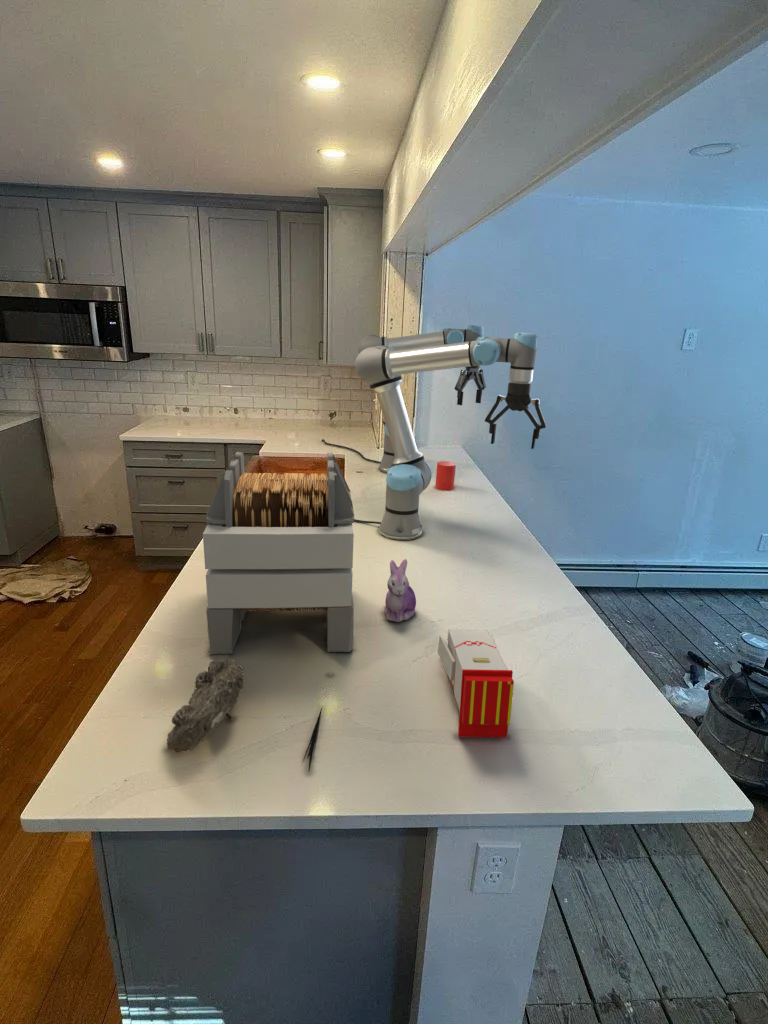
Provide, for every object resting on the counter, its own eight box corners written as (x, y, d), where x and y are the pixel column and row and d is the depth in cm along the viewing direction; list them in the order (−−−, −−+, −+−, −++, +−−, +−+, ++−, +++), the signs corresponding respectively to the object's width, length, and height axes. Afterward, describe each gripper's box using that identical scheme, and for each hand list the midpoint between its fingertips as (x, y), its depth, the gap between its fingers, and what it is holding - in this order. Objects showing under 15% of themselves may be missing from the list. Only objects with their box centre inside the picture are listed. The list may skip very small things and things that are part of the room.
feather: (331, 679, 122) (336, 673, 122) (307, 777, 96) (313, 769, 95) (324, 675, 122) (329, 669, 121) (298, 772, 95) (304, 764, 95)
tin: (433, 485, 257) (434, 461, 254) (450, 484, 259) (452, 461, 255) (438, 490, 250) (440, 466, 246) (456, 490, 251) (458, 465, 248)
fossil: (192, 660, 117) (244, 628, 112) (224, 691, 120) (276, 661, 115) (142, 746, 98) (202, 712, 93) (182, 779, 101) (242, 748, 96)
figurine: (392, 627, 141) (395, 572, 136) (374, 608, 149) (376, 556, 144) (425, 619, 145) (429, 566, 140) (405, 601, 154) (408, 550, 149)
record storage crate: (229, 585, 158) (221, 442, 144) (346, 584, 161) (350, 444, 148) (206, 656, 126) (193, 481, 112) (353, 652, 130) (358, 483, 116)
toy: (488, 613, 130) (523, 677, 101) (484, 667, 133) (517, 744, 104) (435, 612, 130) (455, 676, 101) (432, 666, 133) (451, 743, 103)
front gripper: (560, 384, 185) (551, 447, 192) (485, 377, 193) (478, 439, 200) (558, 386, 178) (548, 452, 186) (480, 380, 187) (474, 443, 194)
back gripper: (461, 360, 260) (457, 407, 267) (495, 359, 276) (491, 403, 283) (449, 359, 265) (445, 404, 273) (483, 357, 281) (479, 401, 288)
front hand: (512, 445), depth 193 cm, fingers open, 13 cm apart
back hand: (468, 404), depth 278 cm, fingers open, 13 cm apart
